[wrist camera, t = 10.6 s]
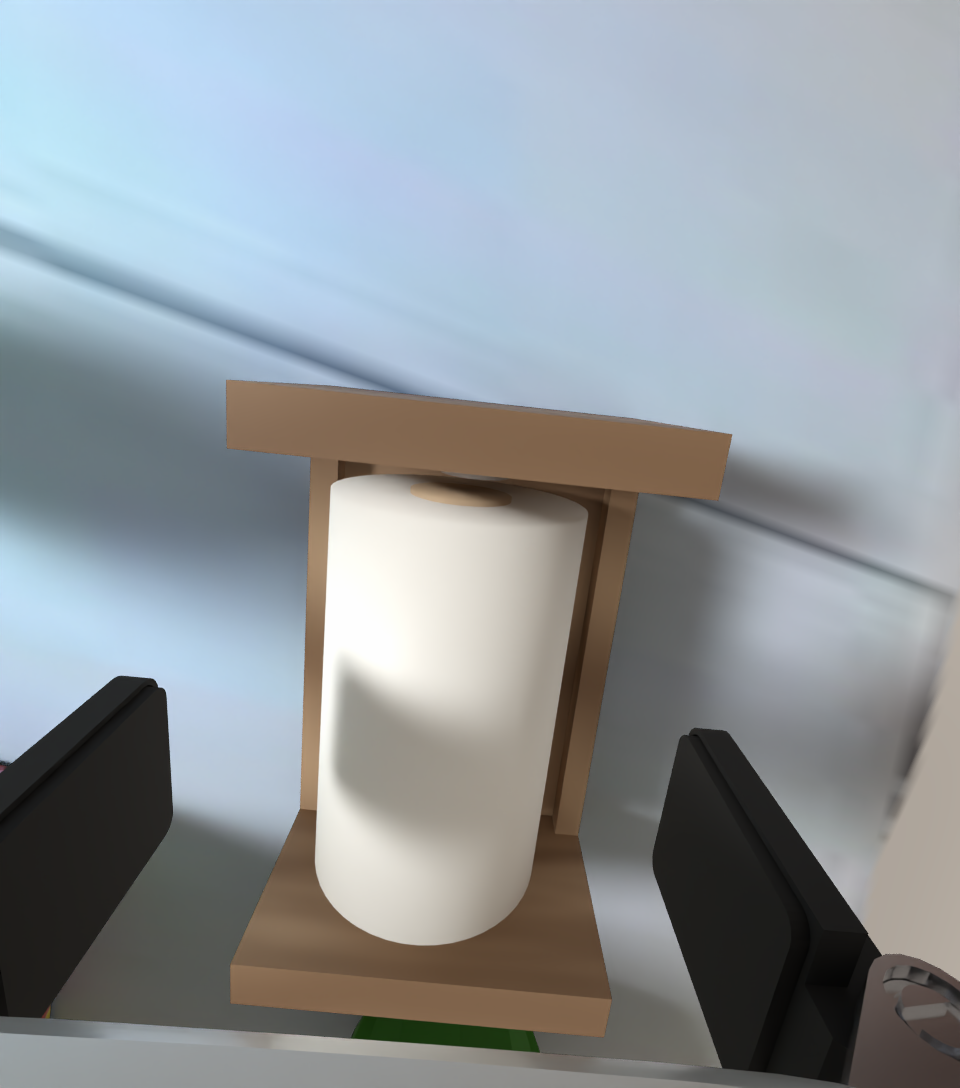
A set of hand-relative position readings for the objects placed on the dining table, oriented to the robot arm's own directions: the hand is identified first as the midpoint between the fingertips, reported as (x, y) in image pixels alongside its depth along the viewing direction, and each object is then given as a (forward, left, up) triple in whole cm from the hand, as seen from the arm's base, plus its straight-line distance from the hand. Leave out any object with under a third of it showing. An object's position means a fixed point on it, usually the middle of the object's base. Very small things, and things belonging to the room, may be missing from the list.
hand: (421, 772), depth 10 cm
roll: (+1, 0, -8) cm, 7 cm away
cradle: (+1, 0, -8) cm, 8 cm away
